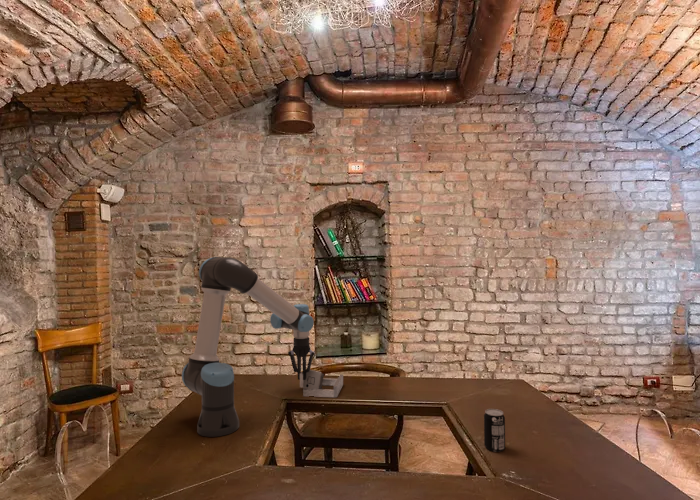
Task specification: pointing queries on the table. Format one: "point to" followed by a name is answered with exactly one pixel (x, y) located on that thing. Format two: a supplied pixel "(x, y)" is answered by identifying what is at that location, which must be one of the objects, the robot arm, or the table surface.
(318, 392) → the aluminium bracket
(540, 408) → the table surface
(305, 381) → the electrical switch
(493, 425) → the beverage can
